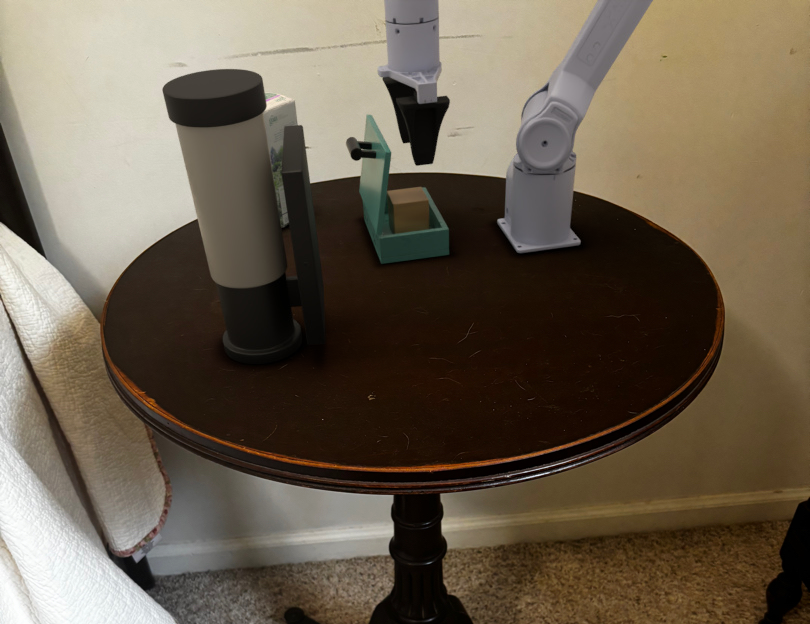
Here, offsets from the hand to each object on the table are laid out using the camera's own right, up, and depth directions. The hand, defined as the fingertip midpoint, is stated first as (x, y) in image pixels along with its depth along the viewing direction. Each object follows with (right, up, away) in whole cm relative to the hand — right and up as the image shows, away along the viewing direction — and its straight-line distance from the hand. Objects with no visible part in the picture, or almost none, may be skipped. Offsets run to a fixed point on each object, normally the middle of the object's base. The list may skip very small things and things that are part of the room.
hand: (417, 152), depth 94 cm
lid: (-5, -2, +1) cm, 5 cm away
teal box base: (-1, -7, +7) cm, 10 cm away
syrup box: (-18, -3, +13) cm, 22 cm away
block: (-1, -7, +6) cm, 9 cm away
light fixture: (-15, -25, -10) cm, 31 cm away
